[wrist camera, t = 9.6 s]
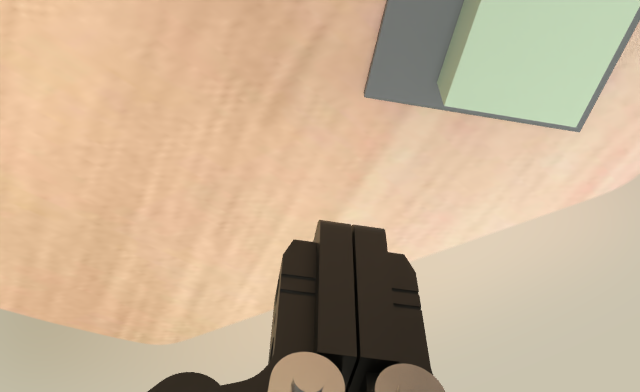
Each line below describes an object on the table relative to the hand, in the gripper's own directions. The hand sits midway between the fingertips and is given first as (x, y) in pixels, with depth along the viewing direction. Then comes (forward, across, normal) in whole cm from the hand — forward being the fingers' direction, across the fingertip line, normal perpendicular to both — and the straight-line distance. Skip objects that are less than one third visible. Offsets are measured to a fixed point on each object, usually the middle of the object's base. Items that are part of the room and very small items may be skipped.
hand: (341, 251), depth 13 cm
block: (+25, -9, +1) cm, 26 cm away
